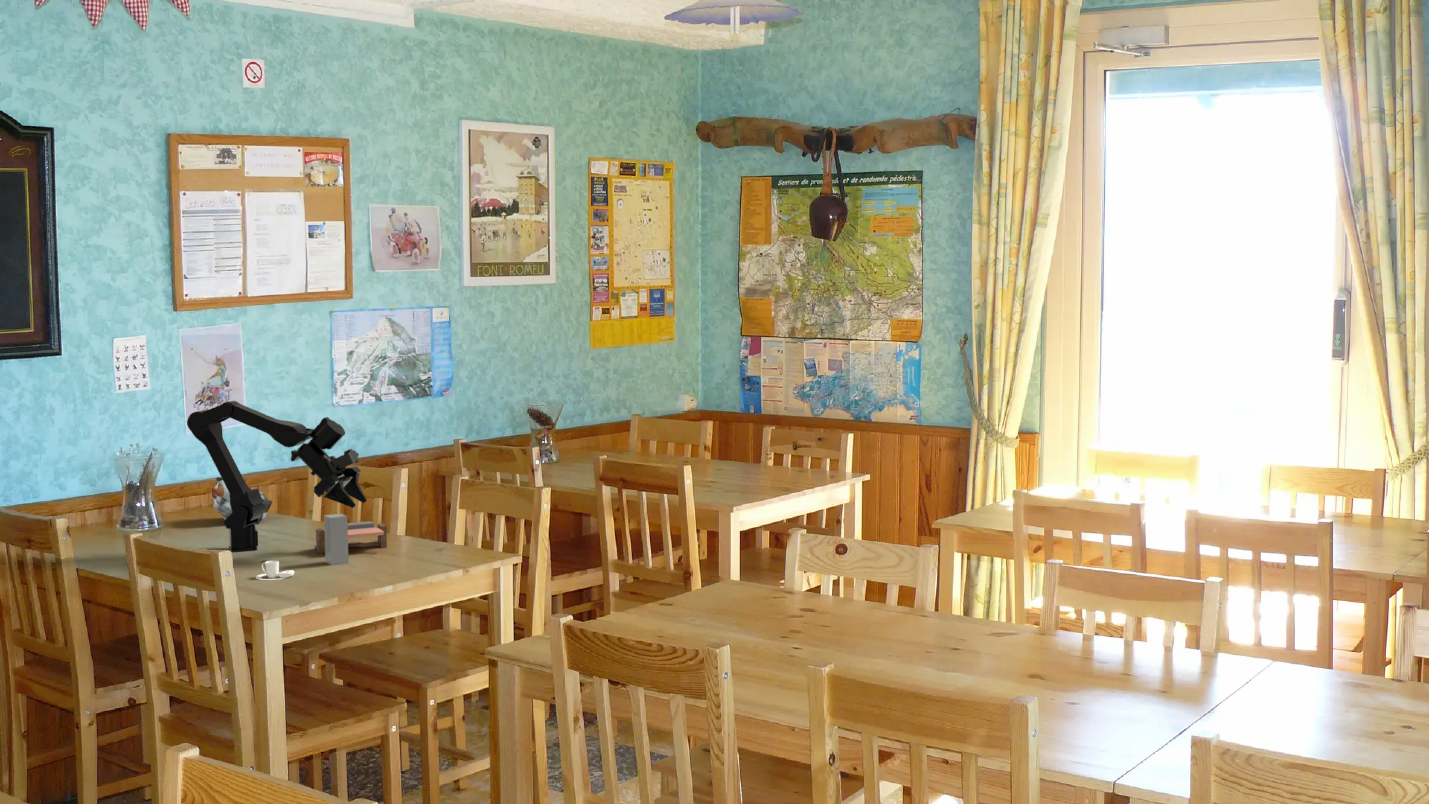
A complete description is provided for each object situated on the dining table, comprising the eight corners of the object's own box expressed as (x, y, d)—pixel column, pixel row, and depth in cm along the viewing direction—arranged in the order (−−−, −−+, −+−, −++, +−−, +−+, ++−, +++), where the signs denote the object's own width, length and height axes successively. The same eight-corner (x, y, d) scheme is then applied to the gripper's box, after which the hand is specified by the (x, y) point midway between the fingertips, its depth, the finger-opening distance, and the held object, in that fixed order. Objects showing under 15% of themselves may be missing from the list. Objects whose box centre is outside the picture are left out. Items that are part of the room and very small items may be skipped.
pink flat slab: (329, 543, 347) (329, 532, 347) (321, 536, 357) (321, 525, 357) (384, 538, 354) (383, 527, 353) (374, 531, 363) (374, 520, 363)
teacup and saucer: (299, 577, 325) (299, 561, 325) (273, 583, 318) (273, 567, 318) (274, 573, 330) (274, 557, 329) (248, 579, 323) (247, 562, 323)
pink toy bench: (319, 553, 351) (318, 531, 351) (314, 548, 357) (314, 527, 357) (386, 547, 359) (386, 525, 359) (381, 542, 365) (380, 521, 365)
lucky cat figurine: (261, 525, 389) (232, 481, 384) (222, 542, 392) (193, 498, 386) (280, 500, 405) (252, 457, 400) (242, 516, 407) (214, 473, 402)
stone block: (330, 565, 337) (329, 518, 336) (325, 561, 341) (324, 515, 340) (348, 563, 340) (347, 516, 338) (342, 559, 343) (341, 513, 342)
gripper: (324, 444, 341) (366, 488, 341) (353, 436, 359) (393, 477, 359) (295, 474, 343) (337, 518, 342) (325, 464, 361) (365, 506, 361)
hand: (360, 504), depth 351 cm, fingers open, 7 cm apart
